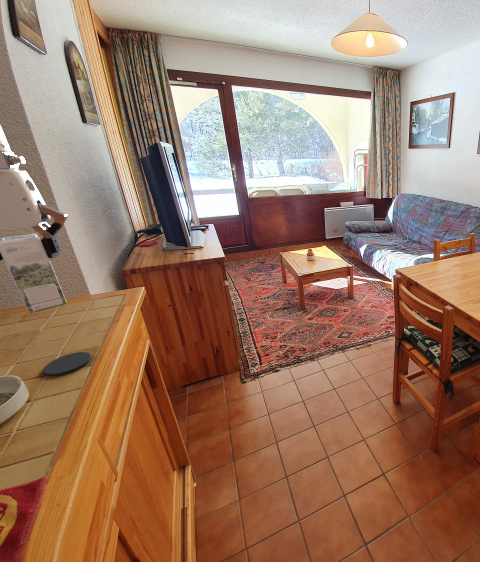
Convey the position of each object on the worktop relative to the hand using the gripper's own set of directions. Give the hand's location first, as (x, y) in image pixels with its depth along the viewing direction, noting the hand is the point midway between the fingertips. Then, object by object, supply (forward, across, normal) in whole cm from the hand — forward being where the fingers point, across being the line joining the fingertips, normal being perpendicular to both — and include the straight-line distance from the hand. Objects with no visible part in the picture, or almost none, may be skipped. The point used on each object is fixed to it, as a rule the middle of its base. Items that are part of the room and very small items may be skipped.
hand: (26, 258), depth 61 cm
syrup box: (+11, 0, 0) cm, 11 cm away
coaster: (+24, -1, +3) cm, 24 cm away
